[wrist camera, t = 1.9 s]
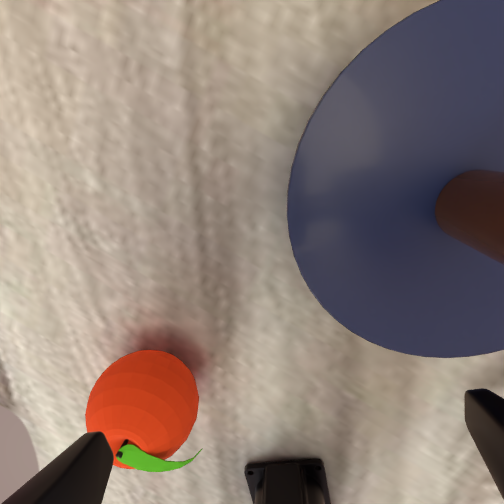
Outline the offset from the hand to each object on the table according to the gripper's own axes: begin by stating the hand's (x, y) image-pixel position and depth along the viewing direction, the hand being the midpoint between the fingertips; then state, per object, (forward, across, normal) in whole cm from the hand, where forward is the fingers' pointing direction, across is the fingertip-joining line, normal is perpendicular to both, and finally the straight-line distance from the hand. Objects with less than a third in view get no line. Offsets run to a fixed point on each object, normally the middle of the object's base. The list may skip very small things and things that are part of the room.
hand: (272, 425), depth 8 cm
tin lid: (+7, -8, -3) cm, 11 cm away
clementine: (+13, +10, +8) cm, 18 cm away
